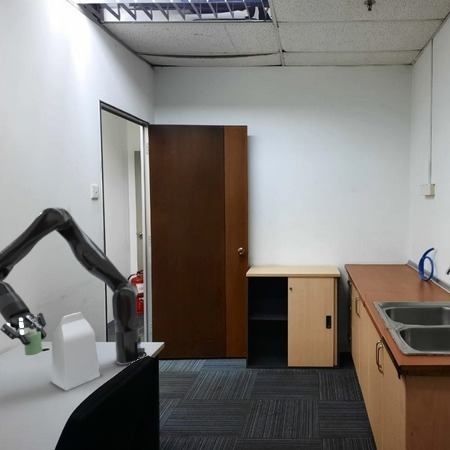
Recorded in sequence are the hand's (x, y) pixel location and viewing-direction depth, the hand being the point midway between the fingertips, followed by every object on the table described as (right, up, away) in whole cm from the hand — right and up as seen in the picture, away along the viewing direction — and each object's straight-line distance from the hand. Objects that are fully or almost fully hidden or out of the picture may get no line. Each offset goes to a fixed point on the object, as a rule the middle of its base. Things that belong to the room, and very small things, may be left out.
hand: (36, 340), depth 125 cm
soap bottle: (-2, -5, +1) cm, 5 cm away
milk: (+10, -18, +7) cm, 21 cm away
